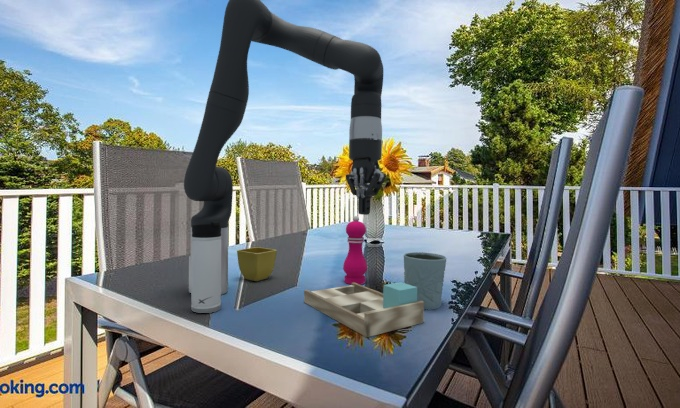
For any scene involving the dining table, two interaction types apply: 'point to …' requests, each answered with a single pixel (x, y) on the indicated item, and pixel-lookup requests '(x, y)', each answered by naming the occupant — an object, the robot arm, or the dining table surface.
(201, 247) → the travel mug
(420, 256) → the grey green cup
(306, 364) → the dining table surface
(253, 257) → the flower pot
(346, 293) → the tray
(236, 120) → the robot arm
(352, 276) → the pepper mill
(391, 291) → the teal block
